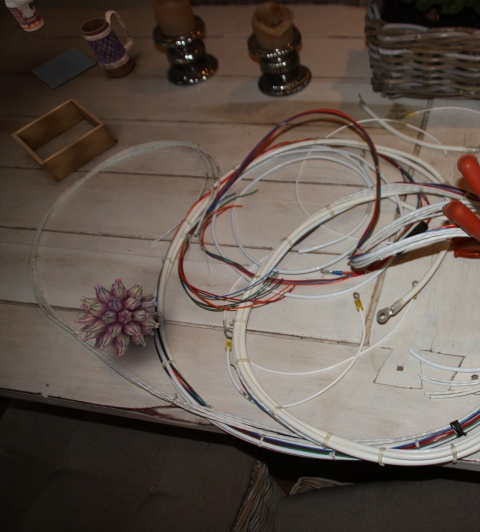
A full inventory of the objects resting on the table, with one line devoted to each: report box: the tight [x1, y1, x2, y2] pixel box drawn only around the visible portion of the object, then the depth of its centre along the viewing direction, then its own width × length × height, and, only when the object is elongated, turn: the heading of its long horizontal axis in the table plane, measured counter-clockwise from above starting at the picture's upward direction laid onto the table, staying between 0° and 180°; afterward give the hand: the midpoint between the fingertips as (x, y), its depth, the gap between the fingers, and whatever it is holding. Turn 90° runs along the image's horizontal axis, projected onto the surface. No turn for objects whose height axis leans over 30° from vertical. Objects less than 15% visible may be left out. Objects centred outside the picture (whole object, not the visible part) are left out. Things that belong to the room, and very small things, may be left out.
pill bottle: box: [4, 0, 45, 32], centre depth 121 cm, size 5×5×8 cm
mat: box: [31, 46, 98, 91], centre depth 134 cm, size 12×12×1 cm
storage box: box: [10, 97, 119, 183], centre depth 115 cm, size 15×15×5 cm
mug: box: [80, 10, 135, 79], centre depth 127 cm, size 10×7×12 cm
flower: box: [73, 277, 161, 357], centre depth 83 cm, size 12×12×12 cm
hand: (23, 11), depth 122 cm, fingers closed on pill bottle, 5 cm apart
